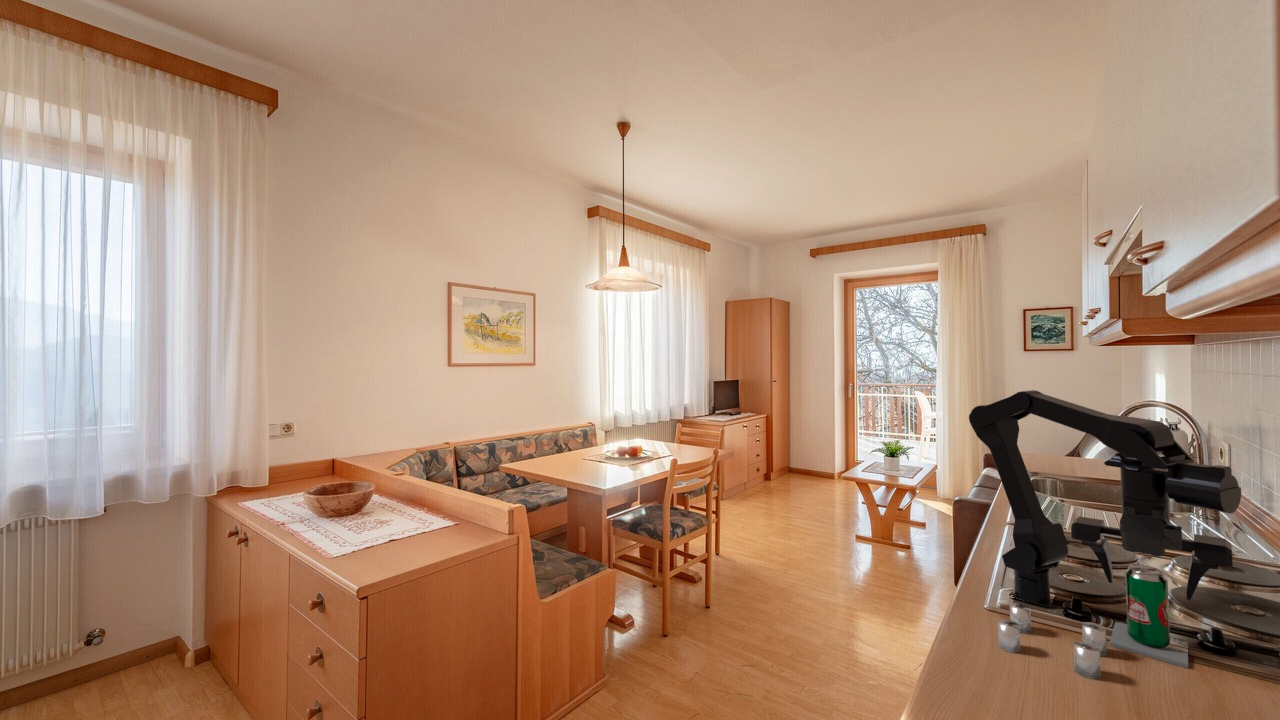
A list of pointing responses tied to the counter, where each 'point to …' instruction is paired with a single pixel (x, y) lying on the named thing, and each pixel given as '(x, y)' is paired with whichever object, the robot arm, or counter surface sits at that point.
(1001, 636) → the spacer posts
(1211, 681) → the counter surface
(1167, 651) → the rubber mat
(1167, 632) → the soda can
